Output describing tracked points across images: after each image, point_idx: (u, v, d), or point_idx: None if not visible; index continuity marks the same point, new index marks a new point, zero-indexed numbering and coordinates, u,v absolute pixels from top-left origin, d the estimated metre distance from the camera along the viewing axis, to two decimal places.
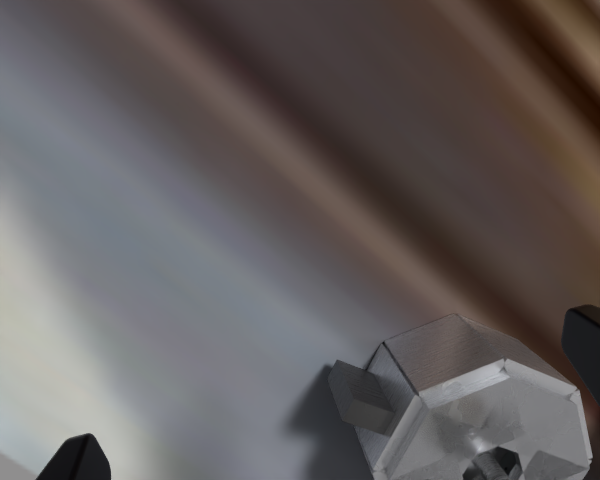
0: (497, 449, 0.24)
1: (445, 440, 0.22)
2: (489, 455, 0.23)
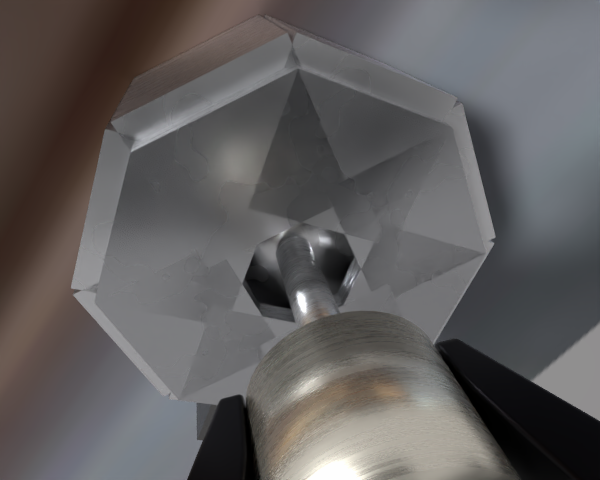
0: None
1: (234, 366, 0.13)
2: (279, 261, 0.13)
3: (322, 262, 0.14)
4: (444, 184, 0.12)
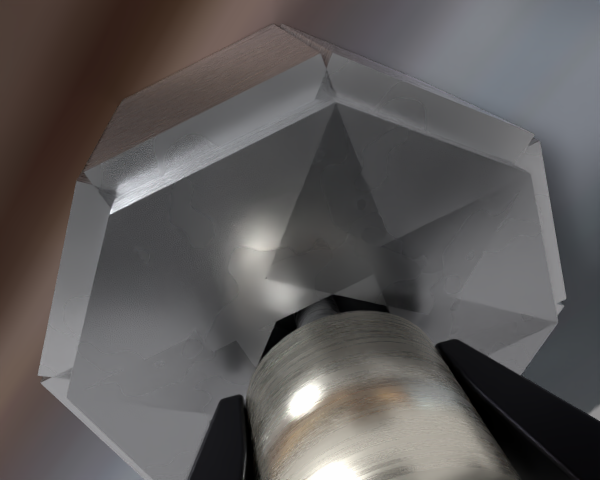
0: None
1: None
2: None
3: None
4: (514, 243, 0.09)
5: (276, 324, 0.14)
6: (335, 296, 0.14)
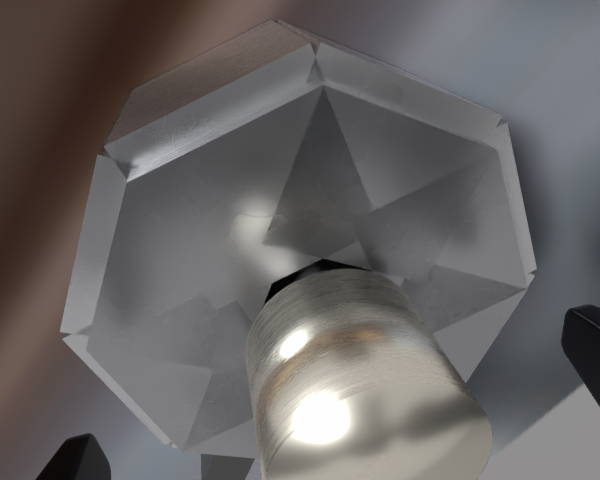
0: None
1: (244, 414, 0.12)
2: None
3: None
4: (485, 214, 0.10)
5: None
6: None
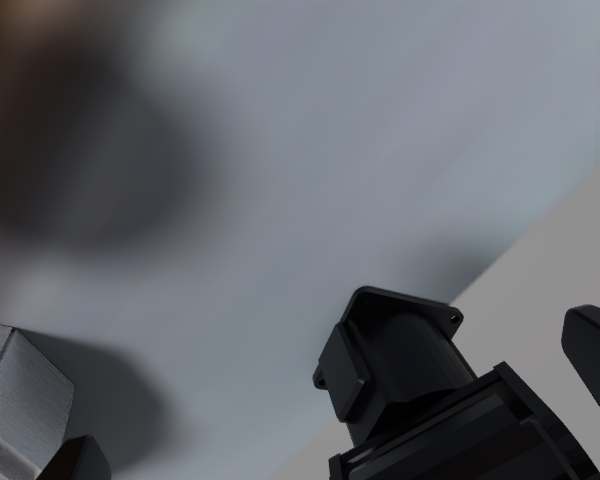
0: None
1: None
2: None
3: None
4: None
5: None
6: None
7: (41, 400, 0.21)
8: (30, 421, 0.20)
